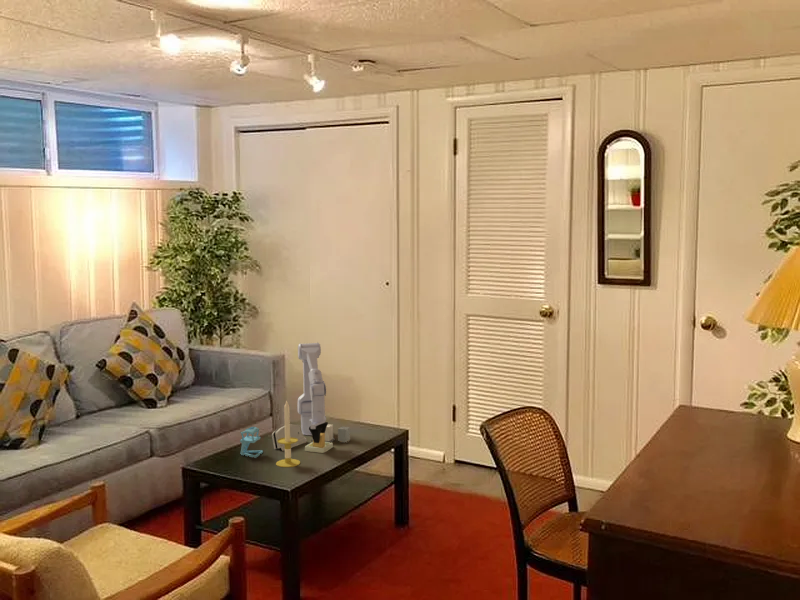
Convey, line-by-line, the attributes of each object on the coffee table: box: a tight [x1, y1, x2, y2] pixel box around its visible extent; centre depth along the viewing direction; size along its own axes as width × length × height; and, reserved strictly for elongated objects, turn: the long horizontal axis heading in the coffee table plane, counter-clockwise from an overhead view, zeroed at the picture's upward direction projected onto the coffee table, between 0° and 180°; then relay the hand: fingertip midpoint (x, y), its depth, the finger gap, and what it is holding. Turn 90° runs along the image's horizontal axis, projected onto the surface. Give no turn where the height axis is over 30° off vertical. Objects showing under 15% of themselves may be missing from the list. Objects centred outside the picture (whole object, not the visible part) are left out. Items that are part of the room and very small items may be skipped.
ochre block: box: [313, 433, 325, 448], centre depth 345 cm, size 4×4×6 cm
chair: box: [239, 426, 264, 459], centre depth 338 cm, size 8×8×12 cm
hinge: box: [271, 423, 308, 452], centre depth 352 cm, size 17×5×10 cm, turn 145°
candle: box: [275, 400, 301, 468], centre depth 325 cm, size 10×10×27 cm
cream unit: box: [310, 423, 336, 443], centre depth 358 cm, size 6×9×7 cm, turn 69°
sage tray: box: [304, 442, 334, 454], centre depth 345 cm, size 9×9×2 cm
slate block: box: [337, 426, 351, 443], centre depth 357 cm, size 4×4×6 cm
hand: (318, 440), depth 345 cm, fingers open, 5 cm apart
